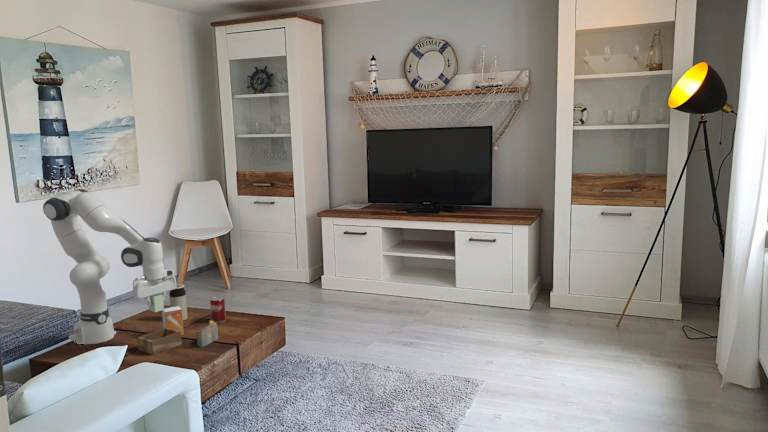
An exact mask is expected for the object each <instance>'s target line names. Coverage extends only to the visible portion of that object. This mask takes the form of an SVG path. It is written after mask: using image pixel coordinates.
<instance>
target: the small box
mask: <svg viewBox="0 0 768 432" xmlns="http://www.w3.org/2000/svg"><path fill="white" fill-rule="evenodd" d="M161 315H162V325H163V326H162V327H163V328H169V329H173V330H177V331H180V332H181V336H183V335H184V333H185V331H184V321H183V317H182V309H181V308H180V307H179V306H176V307H166V308H165V307H164V310H161ZM163 328H162V329H163Z"/></svg>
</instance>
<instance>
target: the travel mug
mask: <svg viewBox="0 0 768 432" xmlns="http://www.w3.org/2000/svg"><path fill="white" fill-rule="evenodd" d="M186 293H187V291H186V290H185V284H183V283H180V284H179V283H178V284H177V283H176V288H175V289H174V290H170V291H169V303H170V304H169V306H170V307H176V306H179V307H180V308H181V309H182V317H183V322H184V321H186V320H187V319H188V305H187V294H186ZM170 307H169V308H170Z"/></svg>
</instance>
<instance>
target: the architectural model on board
mask: <svg viewBox="0 0 768 432" xmlns="http://www.w3.org/2000/svg"><path fill="white" fill-rule="evenodd" d="M208 323H209V325H207V326H205V327H203V328H202V329H199V331H198V330H197V331H195V332H196V344H197V348H204V347H206V346H207V345H209V344H211V343H213V342H216V341H217V340H219V333H218V332H219V331H218V330H219V329H218V323H216V322H214V321H213V320H211V319H210V320H208Z"/></svg>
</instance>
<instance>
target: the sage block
mask: <svg viewBox="0 0 768 432" xmlns="http://www.w3.org/2000/svg"><path fill="white" fill-rule="evenodd" d="M149 299H150V301H153V305H151V306H149V305H148V311H149V312H153V313H158V312H162V310H164V309H165V304H164V302H163V295H162V294H161V293H159V294H156V295H152V296H150V298H149Z"/></svg>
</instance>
